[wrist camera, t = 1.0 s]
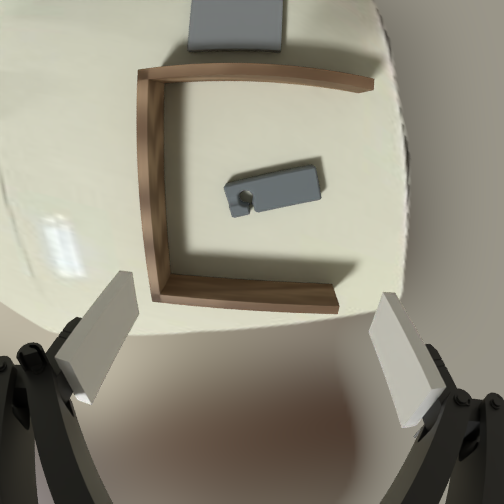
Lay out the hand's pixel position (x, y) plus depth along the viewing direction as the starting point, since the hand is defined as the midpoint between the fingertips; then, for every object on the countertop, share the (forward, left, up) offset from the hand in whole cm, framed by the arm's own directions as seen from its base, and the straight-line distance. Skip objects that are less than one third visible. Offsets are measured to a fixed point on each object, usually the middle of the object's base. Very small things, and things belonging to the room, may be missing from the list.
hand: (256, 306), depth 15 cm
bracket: (-1, +1, -22) cm, 22 cm away
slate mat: (-24, -4, -21) cm, 32 cm away
